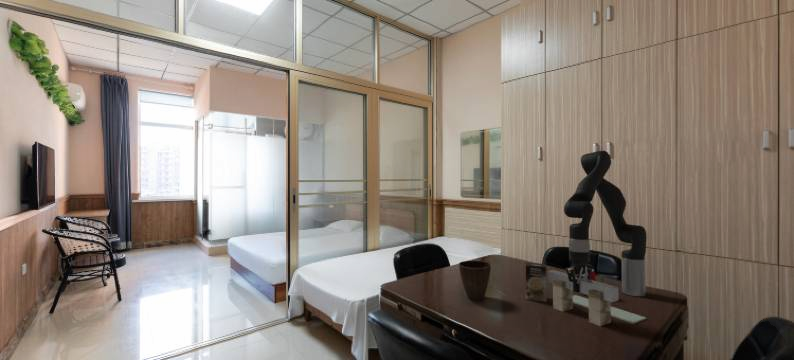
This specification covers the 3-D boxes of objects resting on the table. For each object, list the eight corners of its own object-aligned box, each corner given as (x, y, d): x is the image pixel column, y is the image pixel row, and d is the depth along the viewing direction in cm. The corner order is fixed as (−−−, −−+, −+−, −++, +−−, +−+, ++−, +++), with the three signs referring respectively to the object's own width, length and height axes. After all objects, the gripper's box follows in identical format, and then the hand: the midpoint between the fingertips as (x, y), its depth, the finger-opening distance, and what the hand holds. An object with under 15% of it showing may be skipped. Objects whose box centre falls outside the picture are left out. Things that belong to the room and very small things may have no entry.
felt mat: (575, 296, 158) (575, 295, 158) (646, 319, 131) (646, 317, 131) (563, 299, 154) (563, 298, 154) (633, 323, 127) (633, 322, 127)
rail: (553, 281, 150) (553, 269, 150) (618, 300, 125) (618, 287, 125) (547, 282, 148) (547, 271, 148) (612, 302, 123) (611, 288, 123)
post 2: (599, 318, 133) (599, 287, 133) (610, 322, 129) (610, 290, 129) (588, 321, 130) (588, 290, 130) (600, 326, 126) (599, 293, 126)
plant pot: (456, 300, 154) (455, 266, 154) (462, 290, 168) (462, 259, 168) (489, 304, 149) (488, 269, 149) (493, 294, 162) (492, 261, 163)
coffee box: (525, 299, 155) (524, 265, 155) (526, 295, 161) (525, 262, 161) (546, 302, 151) (546, 266, 151) (547, 297, 157) (546, 263, 157)
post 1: (563, 305, 147) (563, 277, 147) (572, 308, 143) (572, 279, 143) (553, 308, 144) (552, 279, 144) (562, 311, 140) (561, 282, 140)
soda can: (598, 297, 156) (598, 271, 156) (582, 296, 158) (581, 271, 158) (592, 292, 163) (592, 267, 163) (577, 291, 165) (576, 267, 165)
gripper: (581, 246, 143) (582, 286, 143) (559, 249, 136) (560, 291, 136) (598, 249, 136) (599, 291, 136) (576, 253, 130) (577, 296, 130)
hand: (579, 290), depth 136 cm, fingers closed on rail, 4 cm apart
